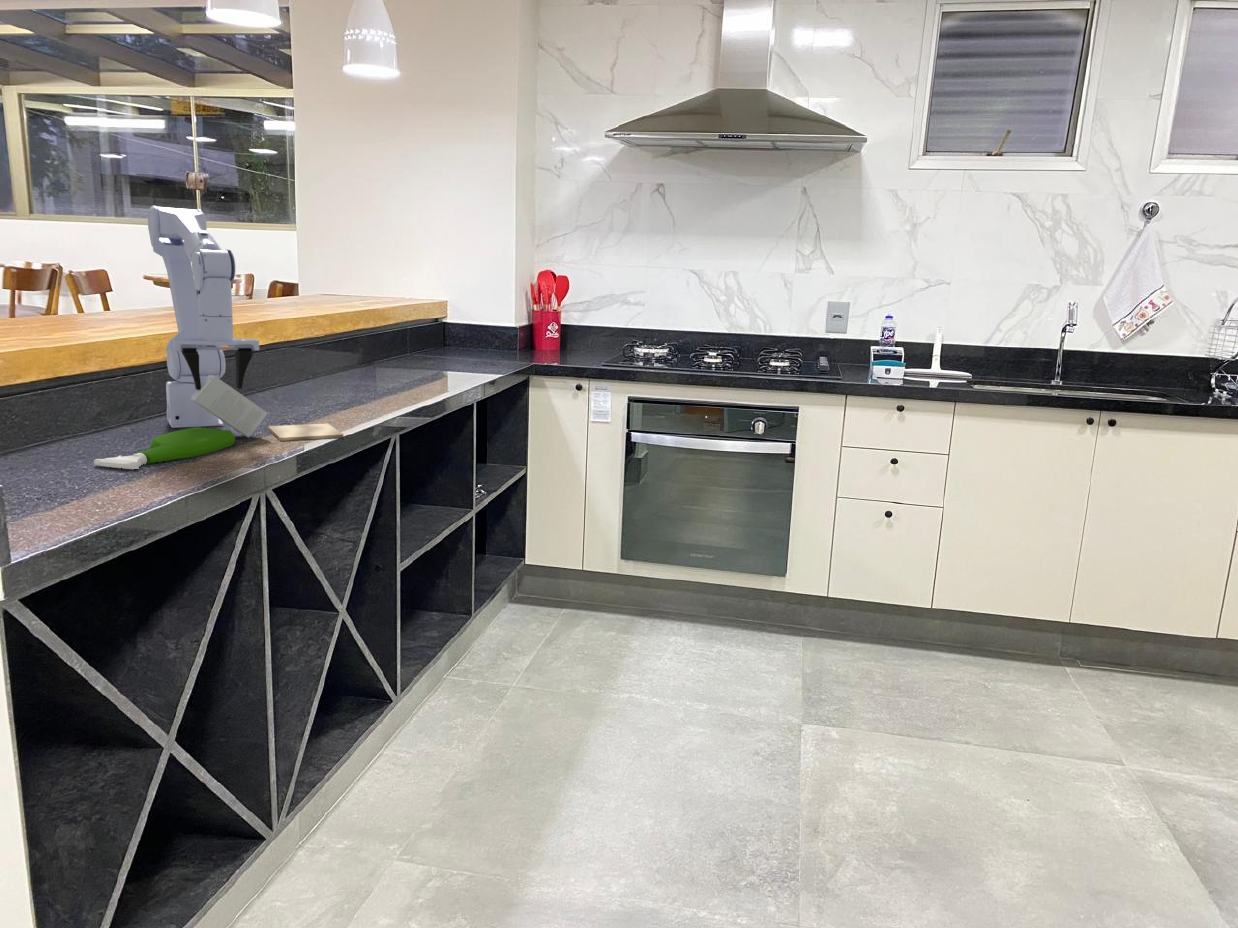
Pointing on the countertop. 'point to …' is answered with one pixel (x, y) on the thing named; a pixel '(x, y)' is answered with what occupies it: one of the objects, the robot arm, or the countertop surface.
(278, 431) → the cork mat
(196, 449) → the spray bottle
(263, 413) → the skincare box
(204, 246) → the robot arm
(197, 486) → the countertop surface
